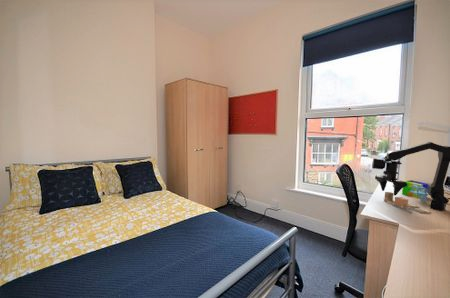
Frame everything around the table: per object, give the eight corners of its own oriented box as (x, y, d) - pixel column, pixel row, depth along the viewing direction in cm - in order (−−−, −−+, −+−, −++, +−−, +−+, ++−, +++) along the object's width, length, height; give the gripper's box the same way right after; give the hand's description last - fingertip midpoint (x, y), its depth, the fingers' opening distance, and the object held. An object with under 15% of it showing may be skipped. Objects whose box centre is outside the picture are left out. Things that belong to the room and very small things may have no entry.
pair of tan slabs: (411, 205, 129) (411, 204, 129) (429, 213, 118) (429, 211, 118) (404, 205, 129) (404, 204, 129) (421, 213, 118) (422, 211, 118)
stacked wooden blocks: (390, 200, 138) (390, 192, 137) (409, 208, 124) (410, 199, 124) (383, 200, 137) (384, 192, 137) (402, 208, 124) (403, 199, 123)
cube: (400, 203, 130) (401, 197, 129) (407, 206, 125) (408, 199, 125) (394, 203, 129) (395, 197, 129) (400, 206, 125) (401, 199, 124)
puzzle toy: (426, 197, 148) (428, 183, 147) (418, 198, 145) (420, 185, 144) (409, 192, 158) (411, 180, 156) (402, 194, 154) (403, 181, 153)
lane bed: (399, 201, 138) (399, 199, 138) (431, 214, 118) (431, 211, 118) (381, 202, 137) (381, 199, 137) (410, 215, 118) (410, 212, 117)
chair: (429, 205, 133) (431, 187, 132) (414, 204, 135) (416, 186, 133) (420, 201, 141) (423, 184, 139) (406, 199, 142) (408, 183, 141)
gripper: (368, 167, 143) (366, 188, 144) (392, 173, 124) (389, 198, 126) (383, 167, 143) (381, 188, 145) (409, 173, 125) (406, 198, 127)
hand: (388, 193), depth 136 cm, fingers open, 9 cm apart
